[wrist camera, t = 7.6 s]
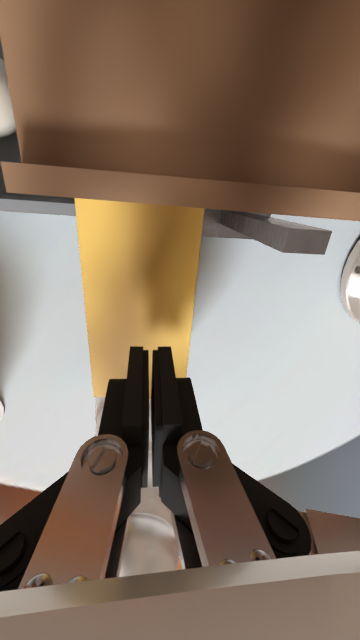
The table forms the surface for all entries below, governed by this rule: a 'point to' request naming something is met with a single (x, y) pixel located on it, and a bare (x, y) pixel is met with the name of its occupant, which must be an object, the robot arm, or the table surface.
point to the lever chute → (177, 139)
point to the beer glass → (1, 410)
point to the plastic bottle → (147, 525)
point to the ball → (5, 104)
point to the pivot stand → (265, 231)
